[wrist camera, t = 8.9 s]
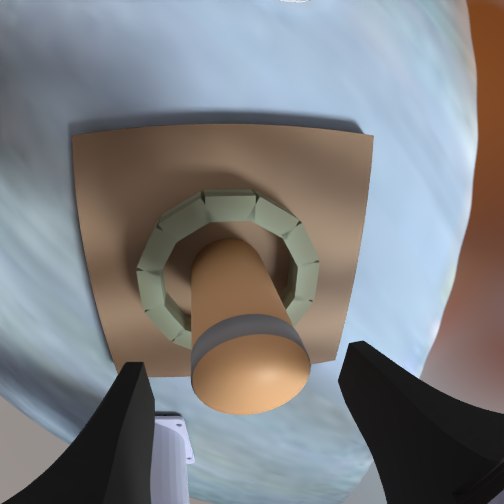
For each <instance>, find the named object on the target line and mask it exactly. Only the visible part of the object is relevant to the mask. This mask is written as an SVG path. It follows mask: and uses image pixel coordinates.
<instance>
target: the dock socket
mask: <svg viewBox="0 0 504 504" xmlns="http://www.w3.org/2000/svg"><path fill="white" fill-rule="evenodd" d="M373 139H374V136H373V135H367V134H360V133H353V132H345V131H337V130H328V129H319V128H308V127H296V126H282V125H262V124H182V125H162V126H148V127H136V128H126V129H117V130H108V131H100V132H93V133H86V134H80V135H73V136H72V151H73V167H74V180H75V190H76V199H77V207H78V215H79V222H80V228H81V235H82V240H83V246H84V252H85V257H86V262H87V267H88V271H89V276H90V281H91V285H92V289H93V293H94V297H95V301H96V305H97V309H98V313H99V316H100V320H101V323H102V327H103V330H104V333H105V337H106V340H107V343H108V346H109V349H110V352H111V355H112V358H113V361H114V364H115V367H116V370H117V373H118V374H119V372H120V370H121V369H122V367H123V365H124V364H125V363H126V362H144V365H145V369H146V372H147V376H148V377H185V376H191V361H190V358H191V352H192V343H191V271H192V265H193V261H194V259H195V257H196V256H197V254H198V253H199V252H200V251H201V250H202V249H203V248H204V247H205V246H207V245H208V244H210V243H212V242H214V241H217V240H221V239H237V240H241V241H243V242H246V243H248V244H249V245H251V246H252V247H253V248H254V249H255V250H256V251H257V252H258V254H259V255H260V257H261V259H262V261H263V263H264V266H265V268H266V270H267V272H268V274H269V276H270V278H271V280H272V282H273V284H274V287H275V289H276V291H277V293H278V295H279V297H280V299H281V301H282V303H283V306H284V308H285V310H286V312H287V314H288V316H289V318H290V320H291V322H292V325H293V327H294V329H295V330H296V331H297V333H298V334H299V336H300V338H301V340H302V342H303V345H304V347H305V349H306V351H307V353H308V355H309V358H310V363H311V364H316V363H322V362H327V361H333V360H335V358H336V355H337V351H338V347H339V343H340V339H341V336H342V332H343V327H344V323H345V319H346V315H347V311H348V306H349V302H350V297H351V292H352V288H353V283H354V278H355V273H356V268H357V262H358V257H359V251H360V245H361V239H362V233H363V227H364V220H365V213H366V206H367V199H368V190H369V182H370V173H371V163H372V152H373Z"/></svg>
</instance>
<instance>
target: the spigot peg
mask: <svg viewBox="0 0 504 504" xmlns="http://www.w3.org/2000/svg"><path fill="white" fill-rule="evenodd" d="M191 343H192V352H191V358H190V361H191V385H192V388H193V390H194V393H195V394H196V395H197V397H198V398H199V399H200V400H201V401H202V402H203V403H204V404H205V405H207V406H208V407H210V408H212V409H214V410H217V411H219V412H223V413H227V414H234V415H249V414H257V413H261V412H265V411H268V410H272V409H274V408H276V407H279V406H281V405H283V404H284V403H286V402H288V401H289V400H290V399H292V398H293V397H294V396H295V395H296V394H298V393H299V391H300V390H301V389H302V388H303V387H304V385H305V384H306V382H307V380H308V377H309V374H310V368H311V363H310V358H309V355H308V353H307V351H306V349H305V347H304V345H303V342H302V340H301V338H300V336H299V334H298V333H297V331H296V330H295V329H294V327H293V325H292V322H291V320H290V318H289V316H288V314H287V312H286V310H285V308H284V306H283V303H282V301H281V299H280V297H279V295H278V293H277V291H276V289H275V287H274V284H273V282H272V280H271V278H270V276H269V274H268V272H267V270H266V268H265V266H264V263H263V261H262V259H261V257H260V255H259V254H258V252H257V251H256V250H255V249H254V248H253V247H252V246H251V245H249V244H248V243H246V242H243V241H241V240H237V239H221V240H217V241H214V242H212V243H210V244H208V245H207V246H205V247H204V248H203V249H202V250H201V251H200V252H199V253H198V254H197V256H196V257H195V259H194V261H193V265H192V271H191Z"/></svg>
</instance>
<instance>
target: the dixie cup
mask: <svg viewBox="0 0 504 504" xmlns="http://www.w3.org/2000/svg"><path fill="white" fill-rule="evenodd" d="M280 1H285V2H305V1H309V0H280Z"/></svg>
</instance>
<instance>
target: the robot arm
mask: <svg viewBox="0 0 504 504" xmlns="http://www.w3.org/2000/svg"><path fill="white" fill-rule="evenodd" d="M338 383H339V386H340V389H341V392H342V395H343V397H344V400H345V403H346V405H347V407H348V409H349V411H350V413H351V415H352V417H353V418H354V420H355V422H356V424H357V426H358V428H359V430H360V432H361V434H362V436H363V437H364V439H365V441H366V443H367V445H368V447H369V449H370V452H371V454H372V456H373V459H374V462H375V464H376V467H377V470H378V473H379V476H380V479H381V482H382V485H383V488H384V492H385V496H386V500H387V504H504V414H501V413H497V412H493V411H489V410H485V409H482V408H479V407H476V406H473V405H470V404H468V403H465V402H462V401H460V400H457V399H455V398H453V397H451V396H449V395H447V394H445V393H443V392H440V391H439V390H437V389H435V388H433V387H431V386H429V385H428V384H426V383H425V382H423V381H421V380H420V379H418V378H417V377H415V376H414V375H412V374H410V373H409V372H408V371H406V370H405V369H403V368H402V367H400V366H399V365H397V364H396V363H395V362H393V361H392V360H390V359H389V358H388V357H386V356H385V355H383V354H382V353H381V352H379V351H378V350H376V349H375V348H374V347H372V346H371V345H369V344H368V343H366V342H365V341H358V342H353V343H349V345H348V349H347V352H346V356H345V359H344V362H343V366H342V369H341V372H340V375H339V378H338ZM193 463H195V458H194V455H193V451H192V447H191V444H190V440H189V436H188V433H187V429H186V425H185V421H184V418H183V417H181V416H155V399H154V396H153V393H152V390H151V386H150V383H149V379H148V376H147V372H146V369H145V365H144V362H126V363H125V364H124V365H123V367H122V369H121V370H120V372H119V374H118V376H117V377H116V379H115V381H114V383H113V384H112V386H111V388H110V389H109V391H108V393H107V394H106V396H105V397H104V399H103V400H102V402H101V404H100V405H99V407H98V408H97V410H96V411H95V413H94V414H93V416H92V417H91V418H90V420H89V421H88V423H87V424H86V425H85V427H84V428H83V430H82V431H81V432H80V434H79V435H78V436H77V437H76V439H75V440H74V441H73V442H72V443H71V445H70V446H69V447H68V448H67V449H66V450H65V452H64V453H63V454H62V455H61V456H60V457H59V458H58V459H57V460H56V461H55V462H54V463H53V464H52V465H51V466H50V467H49V468H48V469H47V470H46V471H45V472H44V473H43V474H41V475H40V476H39V477H38V478H37V479H35V480H34V481H33V482H32V483H31V484H30V485H28V486H27V487H26V488H24V489H23V490H22V491H20V492H19V493H17V494H16V495H14V496H13V497H11V498H10V499H8V500H7V501H5V502H3V503H2V504H189V493H188V480H187V466H186V464H193Z"/></svg>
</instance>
